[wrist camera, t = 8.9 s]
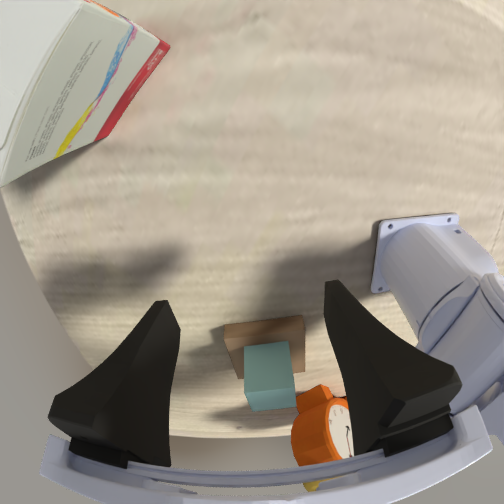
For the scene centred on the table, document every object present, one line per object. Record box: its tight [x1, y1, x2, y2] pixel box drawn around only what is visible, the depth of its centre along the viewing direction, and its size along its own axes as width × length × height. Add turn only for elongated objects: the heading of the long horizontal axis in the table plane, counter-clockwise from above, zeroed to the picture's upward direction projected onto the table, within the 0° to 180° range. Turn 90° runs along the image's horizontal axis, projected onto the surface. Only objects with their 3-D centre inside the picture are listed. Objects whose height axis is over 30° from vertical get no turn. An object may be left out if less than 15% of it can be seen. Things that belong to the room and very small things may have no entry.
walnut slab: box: [224, 315, 305, 379], centre depth 29 cm, size 8×8×2 cm
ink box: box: [0, 0, 170, 187], centre depth 9 cm, size 9×9×12 cm
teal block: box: [244, 341, 297, 412], centre depth 25 cm, size 4×4×6 cm
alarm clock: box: [291, 384, 354, 492], centre depth 30 cm, size 13×6×20 cm, turn 48°
